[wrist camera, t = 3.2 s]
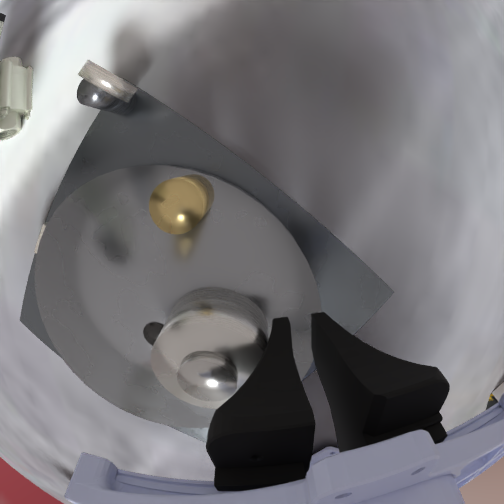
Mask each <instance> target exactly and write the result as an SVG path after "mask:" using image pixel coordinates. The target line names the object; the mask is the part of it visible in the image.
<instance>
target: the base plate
mask: <svg viewBox="0 0 504 504" xmlns="http://www.w3.org/2000/svg"><path fill="white" fill-rule="evenodd" d="M123 80H124V81H126V82H128V81H127V80H125V79H123ZM128 83H129V84H131V85H133V84H132V83H130V82H128ZM133 86H134V87H136V86H135V85H133ZM136 88H137V89H138V90H137V91H136V92H135V95H136V98H137V101H136V105H135V107H134V109H133V110H132V111H131V112H130V113H128V114H126V115H118V114H114V113H111V112H107V111H104V110H101V111H100V112H99V114H98V115H97V117H96V119H95V120H94V122H93V123H92V125H91V127H90V128H89V130H88V132H87V134H86V135H85V137H84V139H83V141H82V143H81V144H80V146H79V148H78V150H77V152H76V154H75V156H74V158H73V159H72V161H71V163H70V165H69V168H68V170H67V172H66V174H65V176H64V178H63V180H62V182H61V185H60V187H59V189H58V191H57V194H56V196H55V199H54V201H53V203H52V206H51V208H50V211H49V214H48V216H47V219H46V222H45V223H47V222H49V220H50V218H51V217H52V215H53V214H54V212H55V210H56V209H57V208H58V207H59V206H60V205H61V203H62V202H63V201H64V200H65V199H66V198H67V197H68V196H69V195H70V194H72V193H73V192H74V191H75V190H77V189H78V188H79V187H80V186H82V185H83V184H85V183H87V182H89V181H91V180H92V179H94V178H96V177H98V176H100V175H103V174H106V173H109V172H112V171H115V170H118V169H123V168H129V167H135V166H143V165H173V166H180V167H186V168H192V169H196V170H199V171H202V172H206V173H209V174H212V175H215V176H218V177H220V178H222V179H224V180H226V181H228V182H230V183H232V184H234V185H236V186H238V187H240V188H241V189H243V190H244V191H246V192H247V193H249V194H250V195H252V196H253V197H255V198H256V199H258V200H259V201H260V202H261V203H262V204H263V205H265V206H266V207H267V208H268V209H269V210H270V211H271V212H272V213H273V214H275V215H276V216H277V218H278V219H279V220H280V221H281V222H282V224H283V225H284V226H285V227H286V228H287V230H288V231H289V232H290V233H291V235H292V236H293V238H294V239H295V241H296V243H297V244H298V246H299V248H300V249H301V251H302V253H303V254H304V256H305V258H306V260H307V261H308V264H309V266H310V269H311V271H312V273H313V276H314V278H315V281H316V284H317V289H318V293H319V297H320V302H321V312H325V313H326V314H327V315H329V316H330V317H331V318H332V319H333V320H334V321H336V322H337V323H338V324H339V325H340V326H342V327H343V328H344V329H345V330H347V331H348V332H349V333H351V334H352V335H354V334H355V333H356V332H357V331H358V330H359V329H360V328H361V327H362V326H363V325H364V324H365V323H366V322H367V321H368V320H369V319H370V318H371V317H372V316H373V315H374V314H375V313H376V312H377V311H378V309H379V308H380V307H381V306H382V305H383V304H384V303H385V302H386V301H387V300H388V299H389V298H390V296H391V295H392V294H393V293H394V291H393V290H392V289H391V288H390V287H389V286H388V285H387V284H386V283H385V282H384V281H383V280H382V279H380V278H379V277H378V276H377V275H376V274H375V273H374V272H373V271H372V270H371V269H370V268H369V267H368V266H367V265H366V264H365V263H364V262H363V261H362V260H360V259H359V258H358V257H357V256H356V255H355V254H354V253H353V252H352V251H351V250H350V249H349V248H347V247H346V246H345V245H344V244H343V243H342V242H341V241H340V240H339V239H337V238H336V237H335V236H334V235H333V234H332V233H331V232H330V231H328V230H327V229H326V228H325V227H324V226H323V225H322V224H320V223H319V222H318V221H317V220H316V219H315V218H314V217H312V216H311V215H310V214H309V213H308V212H307V211H305V210H304V209H303V208H302V207H301V206H299V205H298V204H297V203H296V202H295V201H293V200H292V199H291V198H290V197H289V196H287V195H286V194H285V193H284V192H282V191H281V190H280V189H279V188H278V187H276V186H275V185H274V184H273V183H271V182H270V181H269V180H268V179H266V178H265V177H264V176H263V175H261V174H260V173H259V172H257V171H256V170H255V169H254V168H252V167H251V166H250V165H248V164H247V163H246V162H244V161H243V160H242V159H241V158H239V157H238V156H237V155H235V154H234V153H233V152H231V151H230V150H229V149H227V148H226V147H225V146H223V145H222V144H220V143H219V142H218V141H216V140H215V139H214V138H212V137H211V136H209V135H208V134H207V133H205V132H204V131H202V130H201V129H200V128H198V127H197V126H195V125H194V124H192V123H191V122H190V121H188V120H187V119H185V118H184V117H182V116H181V115H179V114H178V113H176V112H175V111H174V110H172V109H171V108H169V107H168V106H166V105H164V104H163V103H161V102H160V101H158V100H157V99H155V98H154V97H152V96H151V95H149V94H148V93H146V92H144V91H143V90H141V89H140V88H138V87H136ZM36 255H37V254H36V253H35V255H34V259H33V262H32V266H31V270H30V274H29V278H28V282H27V286H26V291H25V295H24V300H23V305H22V311H21V317H20V321H21V322H22V323H23V324H24V325H25V326H26V327H27V328H28V329H29V330H30V331H31V332H32V333H33V334H34V335H36V336H37V337H38V338H39V339H40V340H41V341H42V342H43V343H44V344H46V345H47V346H48V347H49V348H50V349H51V350H53V351H54V352H55V353H56V354H57V355H59V356H60V354H59V353H58V351H57V350H56V348H55V347H54V345H53V343H52V341H51V339H50V337H49V335H48V333H47V331H46V328H45V326H44V324H43V321H42V318H41V315H40V311H39V308H38V304H37V298H36V292H35V262H36ZM60 357H61V356H60ZM61 358H62V357H61ZM315 370H316V366H315V363H314V359H313V362H312V364H311V366H310V368H309V370H308V371H307V373H306V375H305V376H304V378H303V379H302V381H303V380H304V379H305V378H306V377H307V376H309V375H310V374H311V373H312V372H313V371H315ZM168 426H170V425H168ZM170 427H172V428H174V429H176V430H178V431H180V432H182V433H185V434H187V435H189V436H191V437H194V438H196V439H198V440H201V441H203V442H207V434H208V429H209V428H184V427H176V426H170Z"/></svg>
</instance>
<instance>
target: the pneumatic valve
mask: <svg viewBox="0 0 504 504" xmlns="http://www.w3.org/2000/svg"><path fill="white" fill-rule="evenodd" d="M5 17H6V15H4V14H2V13H0V37H1V33H2V28H3V24H4V20H5ZM32 79H33V68H31V66H28V67H27V68H24V67H23V65H22V61H21V59H20V58H18V57H8V58H5V59H3V60H1V61H0V141H3V140H6V139H9V138H11V137H13V136H15V135H17V134H18V133H19V132H20V130H21V129H22V127H21V116H23V115H24V118H25V119H27V120H28V119H29V117H30V112H31V110H32Z"/></svg>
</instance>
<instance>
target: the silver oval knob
mask: <svg viewBox="0 0 504 504" xmlns="http://www.w3.org/2000/svg"><path fill="white" fill-rule="evenodd" d="M78 75H79V76H81V77H82V78H84V79H83V80H82V81H81V83H80V85H79V87H78V90H77V99H78V101H79V102H80V103H81V104H83V105H86V106H90V107H93V108H97V109H101V110H104V111H107V112H111V113H114V114H118V115H126V114H128V113H130V112H131V111H132V110H133V109H134V107H135V105H136V101H137V98H136V95H135V92H136V91H137V90H138V89H137V88H136V87H134V86H133V85H131V84H129V83H128V82H126V81H124V80H123V79H121V78H119V77H118V76H116V75H114V74H113V73H111V72H109V71H108V70H106V69H104V68H102V67H101V66H99V65H97V64H95V63H93V62H91V61H90V60H87V62H86V63H85V64H84V66H83V67H82V69H81V70H80V72H79V73H78Z"/></svg>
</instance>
